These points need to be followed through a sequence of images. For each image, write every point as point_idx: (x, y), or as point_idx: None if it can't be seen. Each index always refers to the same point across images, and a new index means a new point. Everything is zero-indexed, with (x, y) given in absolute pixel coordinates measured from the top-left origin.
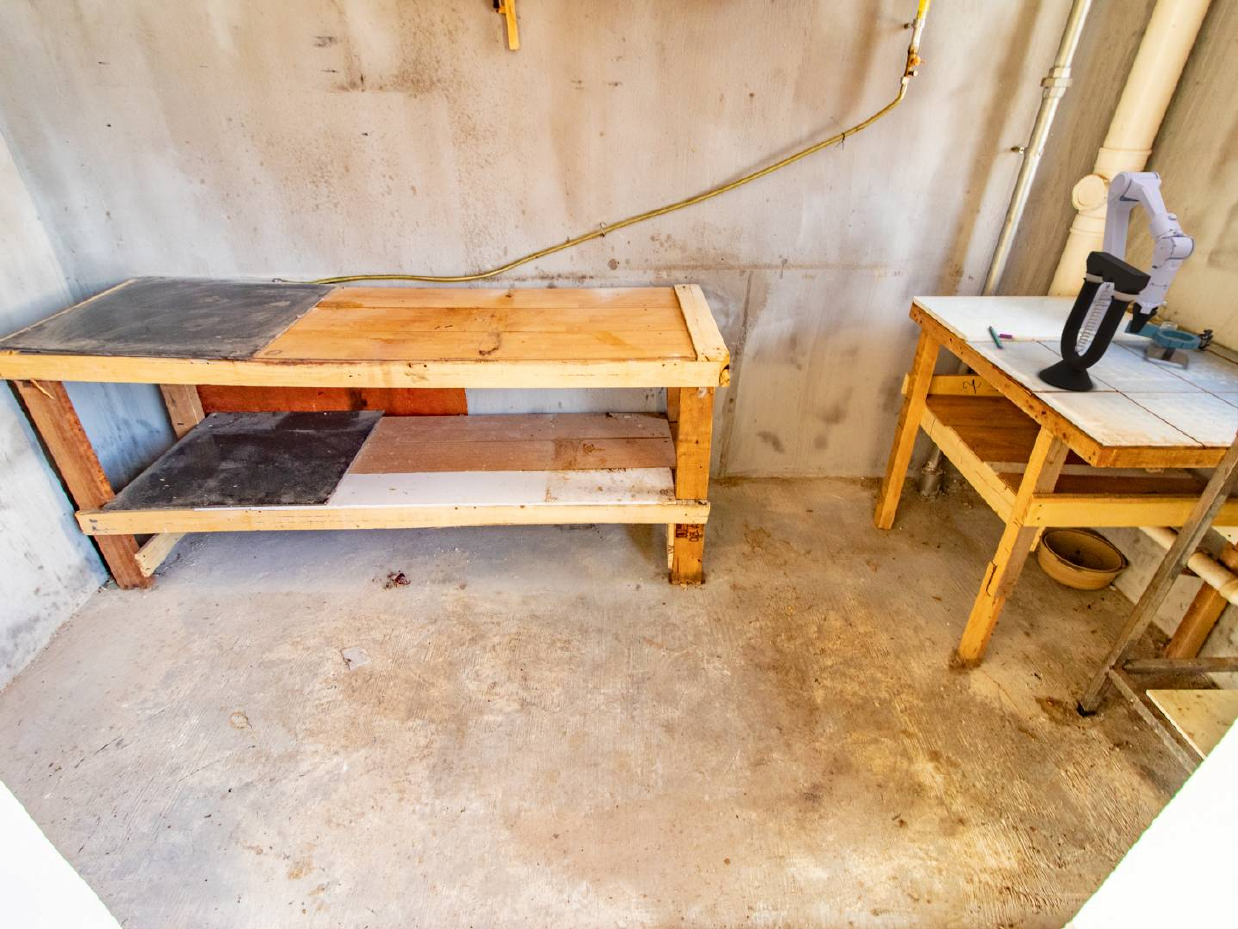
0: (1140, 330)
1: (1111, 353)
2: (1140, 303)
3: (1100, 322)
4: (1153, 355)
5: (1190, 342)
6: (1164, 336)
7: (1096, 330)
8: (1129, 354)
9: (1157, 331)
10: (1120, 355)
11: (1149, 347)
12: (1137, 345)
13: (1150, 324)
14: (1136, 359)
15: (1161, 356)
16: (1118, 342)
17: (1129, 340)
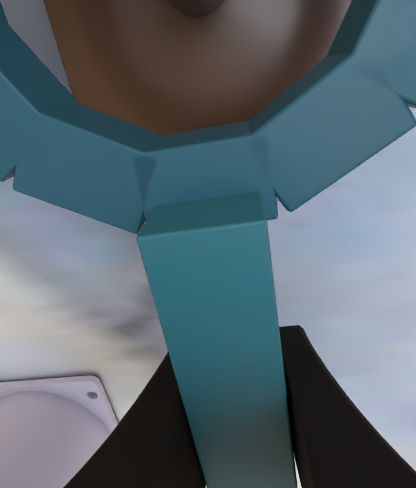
0: (310, 346)
1: (354, 301)
2: None
3: (71, 478)
4: (291, 78)
5: None
6: (387, 67)
7: (93, 430)
8: (288, 220)
9: (263, 202)
10: (354, 257)
11: None
12: (56, 219)
13: (204, 344)
14: (365, 164)
15: (261, 14)
16: (110, 308)
17: (11, 272)
